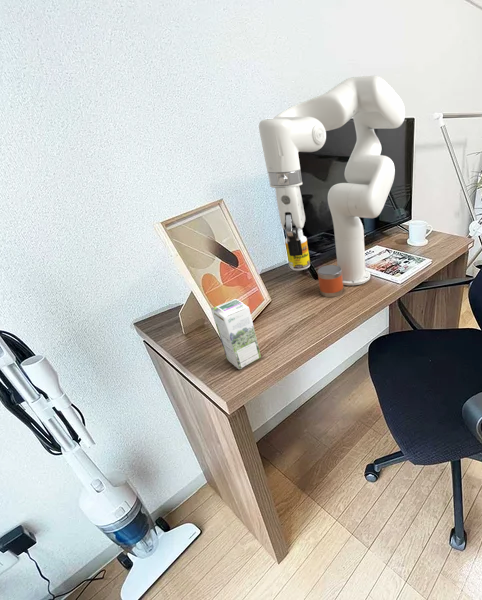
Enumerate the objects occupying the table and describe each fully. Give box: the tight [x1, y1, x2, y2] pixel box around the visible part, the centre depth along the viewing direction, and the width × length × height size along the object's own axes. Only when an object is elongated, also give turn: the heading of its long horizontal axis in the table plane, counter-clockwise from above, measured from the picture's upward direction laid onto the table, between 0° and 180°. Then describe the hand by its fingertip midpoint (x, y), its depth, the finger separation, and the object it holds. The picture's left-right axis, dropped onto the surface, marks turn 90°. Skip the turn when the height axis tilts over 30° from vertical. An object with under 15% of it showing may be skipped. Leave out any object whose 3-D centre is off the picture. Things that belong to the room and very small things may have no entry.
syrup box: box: [210, 298, 262, 371], centre depth 73 cm, size 6×6×14 cm
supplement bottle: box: [284, 228, 311, 271], centre depth 85 cm, size 6×6×10 cm
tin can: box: [317, 264, 344, 298], centre depth 103 cm, size 8×8×8 cm
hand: (297, 250), depth 86 cm, fingers closed on supplement bottle, 5 cm apart
